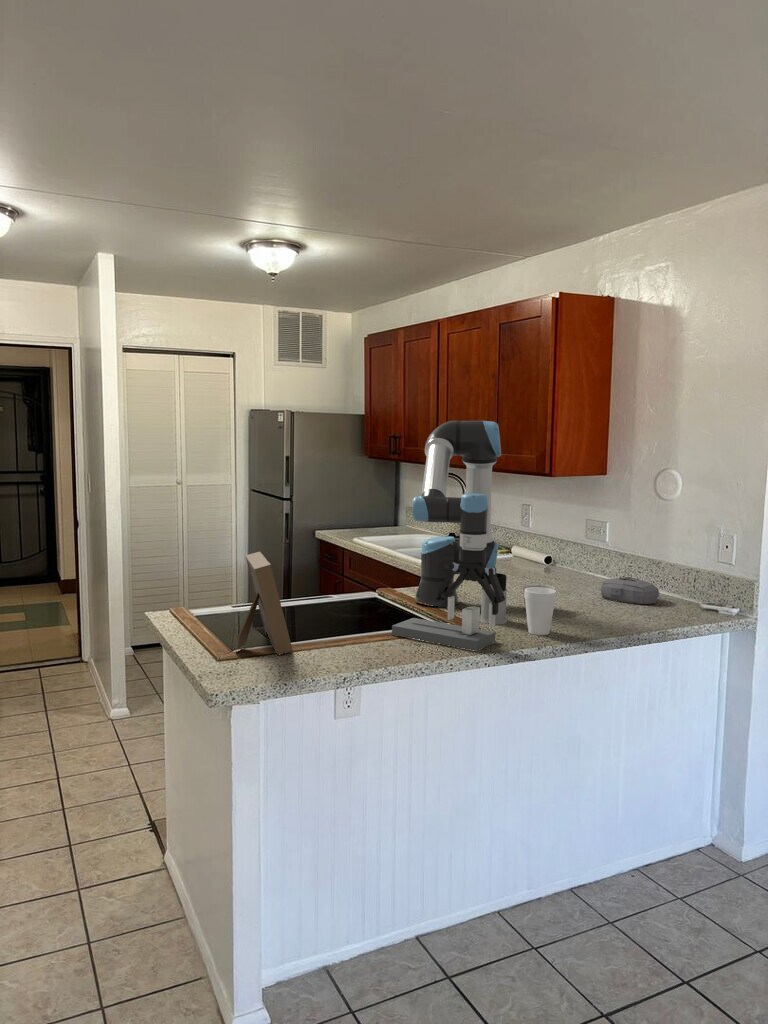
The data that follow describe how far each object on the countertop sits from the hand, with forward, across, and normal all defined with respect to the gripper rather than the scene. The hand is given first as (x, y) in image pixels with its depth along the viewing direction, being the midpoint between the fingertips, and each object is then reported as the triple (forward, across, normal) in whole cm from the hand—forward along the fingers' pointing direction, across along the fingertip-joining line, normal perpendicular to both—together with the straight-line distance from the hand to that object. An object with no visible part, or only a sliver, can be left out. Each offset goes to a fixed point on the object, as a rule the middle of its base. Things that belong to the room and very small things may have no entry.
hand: (470, 622), depth 221 cm
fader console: (+6, -9, 0) cm, 11 cm away
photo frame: (+7, -47, -37) cm, 60 cm away
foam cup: (+7, +11, +24) cm, 27 cm away
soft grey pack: (+7, +21, +87) cm, 90 cm away
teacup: (+7, -1, +53) cm, 53 cm away
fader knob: (+3, 0, 0) cm, 3 cm away
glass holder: (+7, -7, +31) cm, 32 cm away
